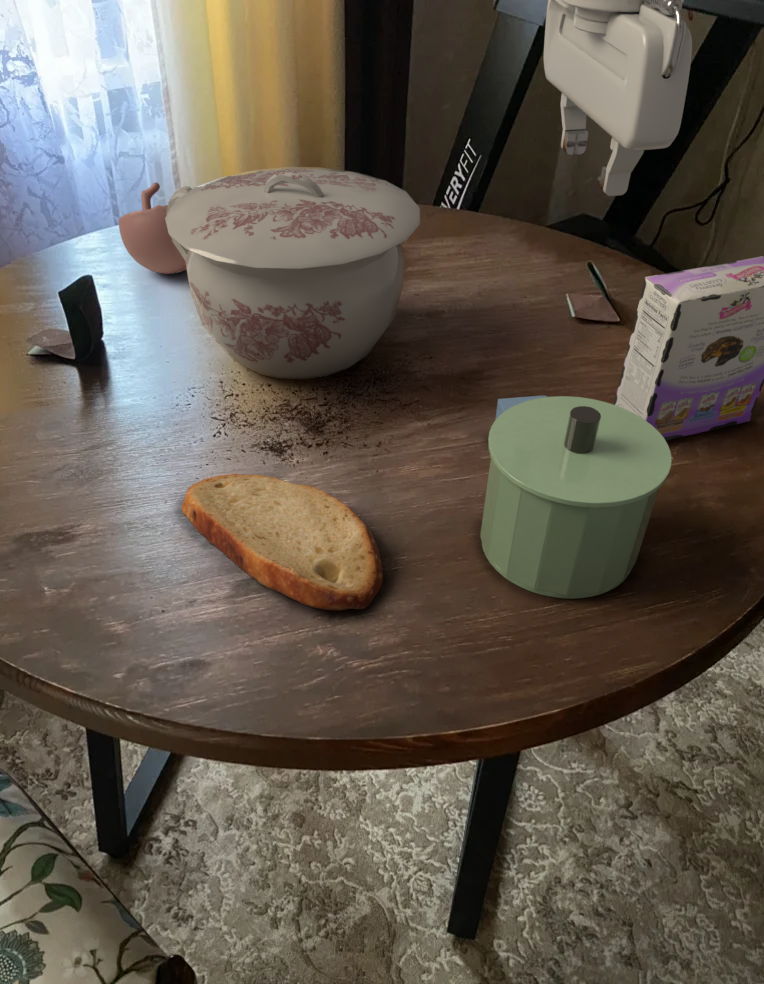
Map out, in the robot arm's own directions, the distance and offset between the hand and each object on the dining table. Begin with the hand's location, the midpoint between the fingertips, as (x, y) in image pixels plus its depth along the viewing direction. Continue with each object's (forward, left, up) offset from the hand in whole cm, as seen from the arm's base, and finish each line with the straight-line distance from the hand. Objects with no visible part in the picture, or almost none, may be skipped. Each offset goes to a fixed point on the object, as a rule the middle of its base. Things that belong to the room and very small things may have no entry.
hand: (591, 171), depth 69 cm
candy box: (-15, -1, -27) cm, 31 cm away
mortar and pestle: (+40, -46, -27) cm, 67 cm away
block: (+3, +2, -27) cm, 27 cm away
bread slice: (+29, +13, -27) cm, 42 cm away
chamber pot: (+24, -22, -27) cm, 42 cm away
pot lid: (+4, +16, -17) cm, 23 cm away
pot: (+4, +16, -27) cm, 32 cm away
